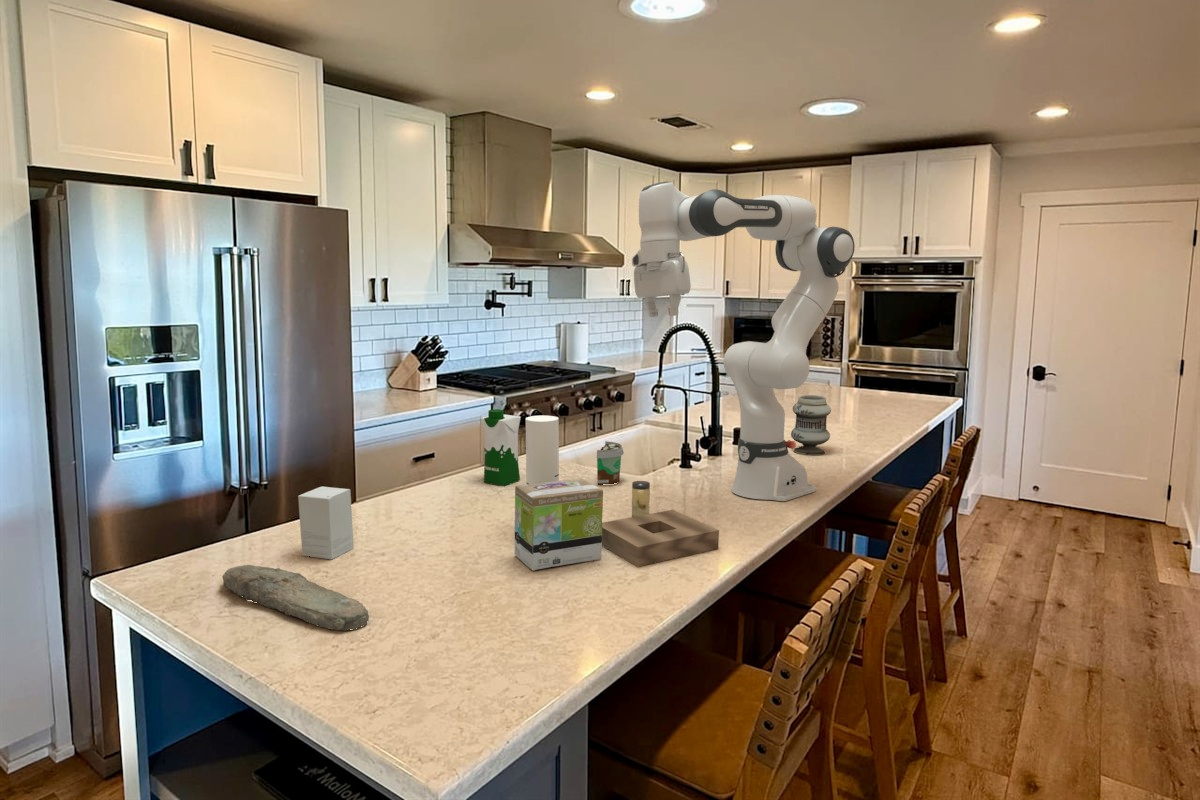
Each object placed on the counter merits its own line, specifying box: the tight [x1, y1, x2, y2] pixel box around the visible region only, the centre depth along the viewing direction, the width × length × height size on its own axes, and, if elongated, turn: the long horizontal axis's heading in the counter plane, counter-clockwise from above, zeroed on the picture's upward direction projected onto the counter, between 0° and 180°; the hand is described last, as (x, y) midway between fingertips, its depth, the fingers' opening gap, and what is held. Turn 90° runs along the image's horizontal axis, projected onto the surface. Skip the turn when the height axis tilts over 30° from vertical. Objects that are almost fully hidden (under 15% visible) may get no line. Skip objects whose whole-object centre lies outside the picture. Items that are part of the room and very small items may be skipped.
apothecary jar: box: [790, 394, 832, 457], centre depth 242 cm, size 12×12×18 cm
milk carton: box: [480, 408, 521, 487], centre depth 205 cm, size 9×9×20 cm
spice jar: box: [631, 480, 651, 517], centre depth 173 cm, size 4×4×9 cm
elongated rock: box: [222, 564, 370, 631], centre depth 129 cm, size 35×5×10 cm
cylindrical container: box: [525, 415, 560, 485], centre depth 166 cm, size 7×7×25 cm
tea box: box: [514, 478, 604, 572], centre depth 150 cm, size 15×10×15 cm, turn 117°
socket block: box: [602, 509, 720, 567], centre depth 158 cm, size 20×16×4 cm
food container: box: [596, 441, 625, 486], centre depth 207 cm, size 12×6×10 cm, turn 168°
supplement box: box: [297, 486, 355, 560], centre depth 153 cm, size 7×7×13 cm
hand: (663, 316), depth 174 cm, fingers open, 8 cm apart
